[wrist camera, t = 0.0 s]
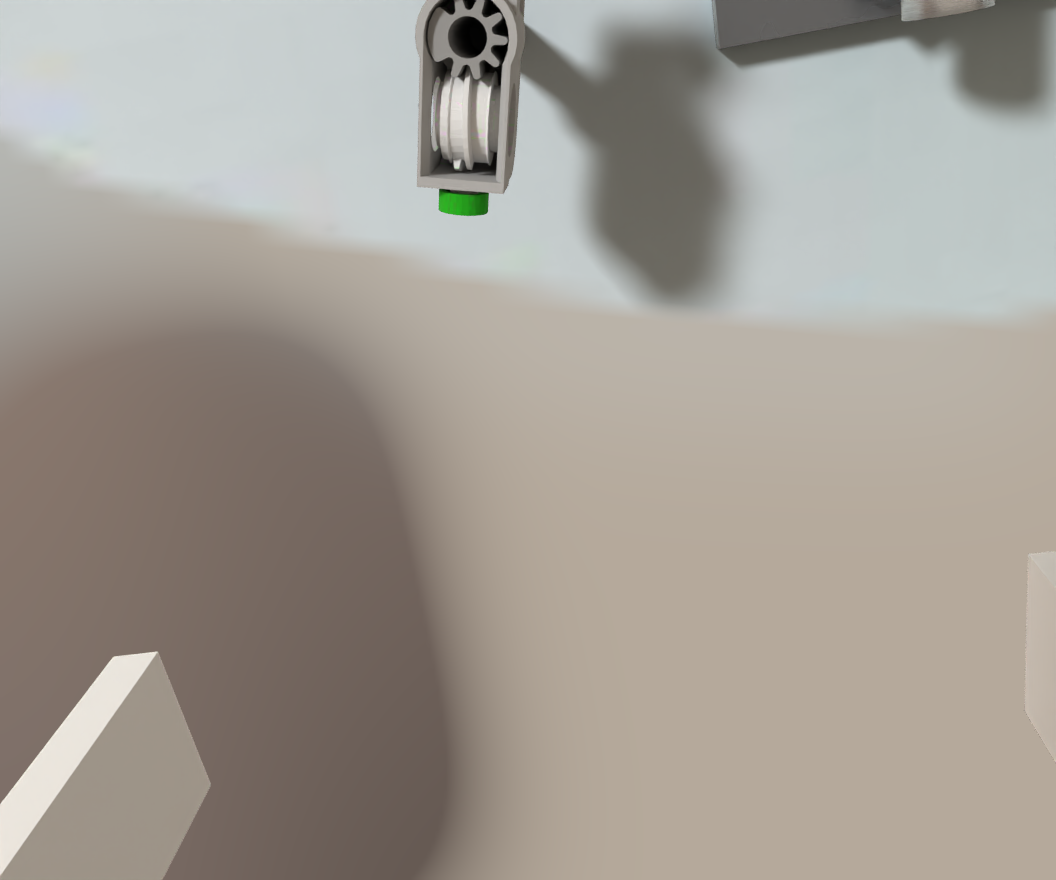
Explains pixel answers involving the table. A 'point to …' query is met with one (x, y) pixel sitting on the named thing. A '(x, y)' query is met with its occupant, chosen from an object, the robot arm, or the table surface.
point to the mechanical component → (468, 99)
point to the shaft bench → (818, 15)
